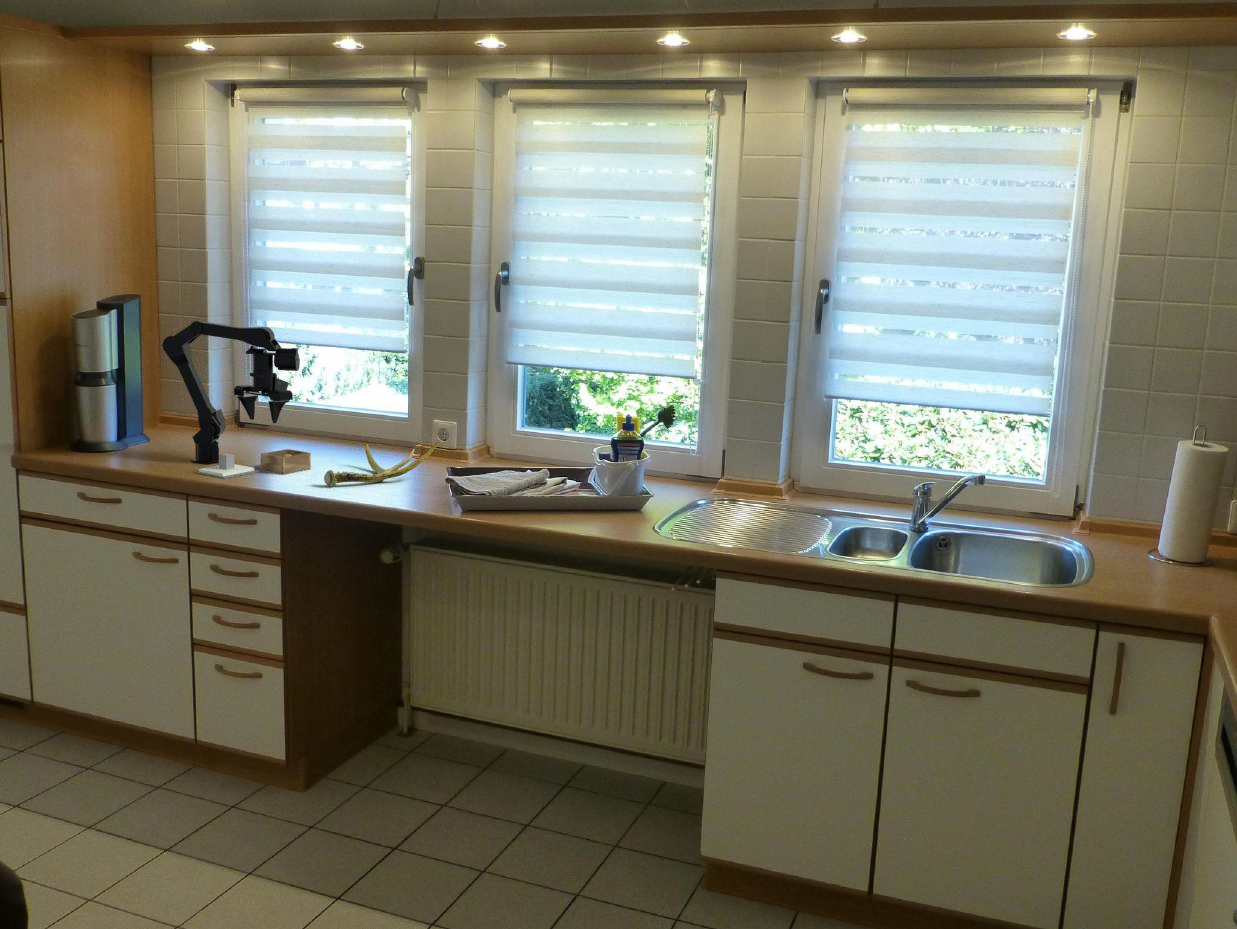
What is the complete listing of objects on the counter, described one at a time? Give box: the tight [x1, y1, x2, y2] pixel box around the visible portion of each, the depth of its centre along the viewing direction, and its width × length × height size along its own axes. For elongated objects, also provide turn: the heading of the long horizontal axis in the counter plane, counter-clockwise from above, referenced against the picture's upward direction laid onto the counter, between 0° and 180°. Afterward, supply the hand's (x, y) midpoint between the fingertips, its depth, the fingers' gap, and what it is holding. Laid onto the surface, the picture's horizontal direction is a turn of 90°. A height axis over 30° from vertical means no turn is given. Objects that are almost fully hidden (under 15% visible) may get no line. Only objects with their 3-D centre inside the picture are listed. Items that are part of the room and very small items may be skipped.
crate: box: [260, 448, 312, 476], centre depth 322 cm, size 9×11×5 cm
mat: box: [194, 469, 260, 479], centre depth 314 cm, size 12×13×1 cm
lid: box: [198, 453, 255, 476], centre depth 314 cm, size 10×12×5 cm
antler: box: [323, 440, 441, 488], centre depth 315 cm, size 27×32×10 cm
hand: (263, 421), depth 327 cm, fingers open, 9 cm apart
